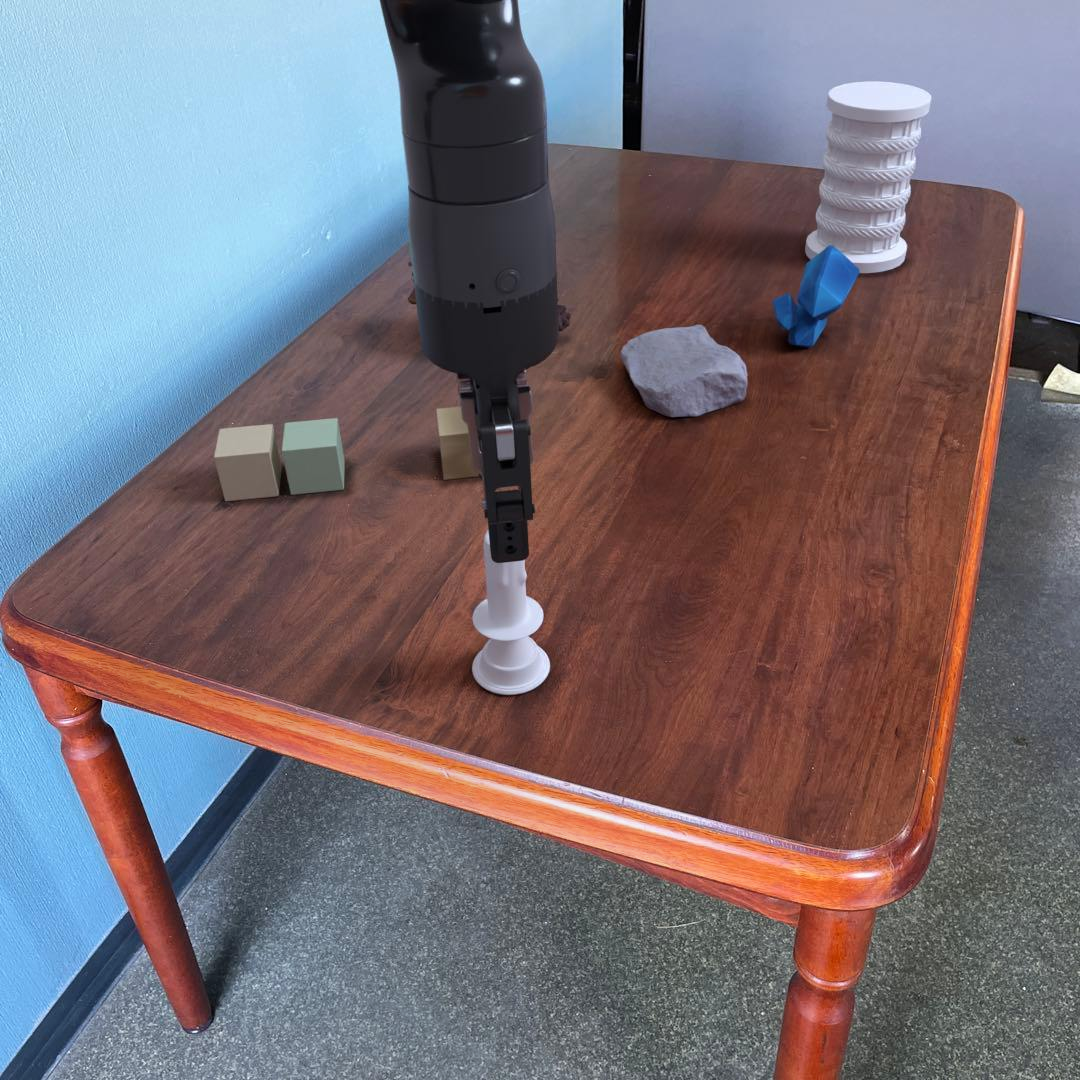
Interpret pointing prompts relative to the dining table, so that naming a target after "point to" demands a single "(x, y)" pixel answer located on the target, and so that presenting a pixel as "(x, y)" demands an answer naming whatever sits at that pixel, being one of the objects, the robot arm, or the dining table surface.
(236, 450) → the block
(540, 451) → the dining table surface
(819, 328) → the crystal
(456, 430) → the block
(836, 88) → the decorative container
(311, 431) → the block
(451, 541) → the dining table surface
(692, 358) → the stone block
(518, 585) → the candle
